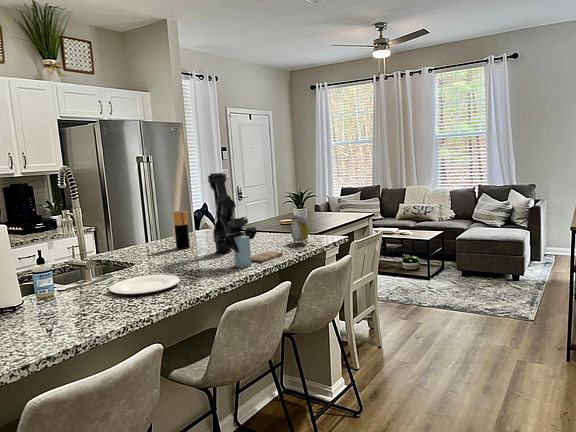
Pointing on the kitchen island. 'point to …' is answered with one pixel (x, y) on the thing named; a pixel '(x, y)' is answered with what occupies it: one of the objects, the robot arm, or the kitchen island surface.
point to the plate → (144, 284)
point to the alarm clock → (299, 228)
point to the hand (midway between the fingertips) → (243, 251)
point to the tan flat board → (265, 256)
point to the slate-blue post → (242, 251)
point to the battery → (181, 229)
